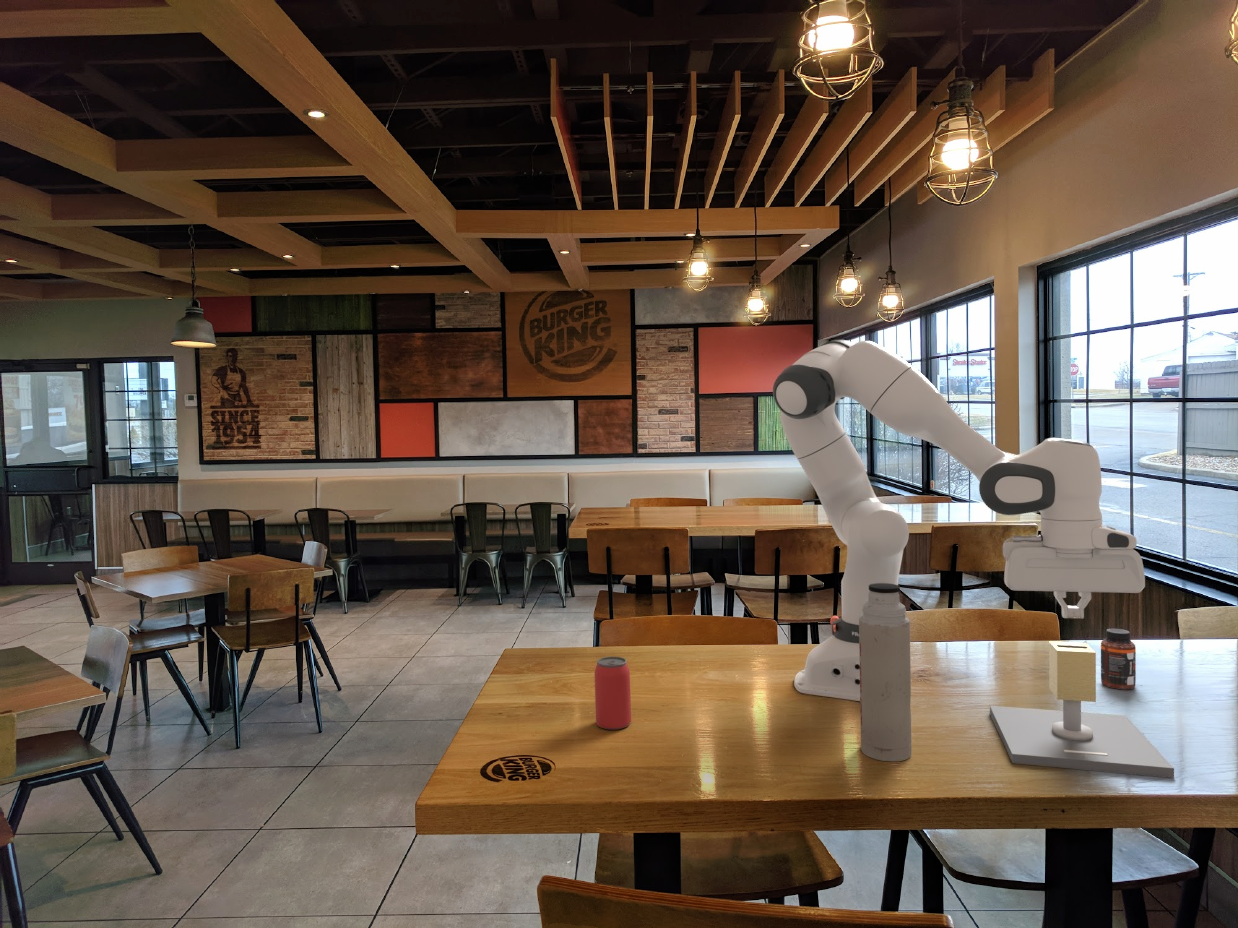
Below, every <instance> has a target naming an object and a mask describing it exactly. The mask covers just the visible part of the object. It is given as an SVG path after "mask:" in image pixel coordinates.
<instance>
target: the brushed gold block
mask: <svg viewBox="0 0 1238 928" xmlns="http://www.w3.org/2000/svg"><path fill="white" fill-rule="evenodd" d="M1048 645H1049V646H1048V653H1049V654H1048V658H1049V660H1048V661H1049V662H1048V663H1049V664H1048V666H1049V670H1048V671H1049V672H1048V676H1049V677H1048V679H1049V680H1048V681H1049V685H1048V686H1049V687H1048V688H1049V690H1050V691H1051V693H1052V694H1053V696H1055V699H1057V700H1061V701H1063V700H1074V701H1081V702H1091V703H1092V702H1093V703H1096V702H1097V675H1096V674H1097V669H1096V668H1097V667H1096V666H1097V663H1096V662H1097V653H1096V651H1095V650H1094V649H1093V648H1092V647H1091V646H1090V645H1089V644H1088V643H1086V642H1072V641H1071V642H1070V641H1052V640H1051V641H1048Z"/></svg>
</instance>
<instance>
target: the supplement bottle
mask: <svg viewBox="0 0 1238 928" xmlns="http://www.w3.org/2000/svg"><path fill="white" fill-rule="evenodd" d="M1105 636H1106V638H1104V639H1103V640H1101V642H1100V681H1101V683H1102V685H1103V686H1106V687H1108V688H1111V689H1115V690H1132V689H1133V690H1134V688H1135V687H1136V682H1137V681H1136V680H1137V679H1136V676H1137V674H1136V673H1137V672H1136V671H1137V670H1136V667H1137V666H1136V661H1137V660H1136V657H1137V656H1136V655H1137V654H1136V653H1137V652H1136V644H1135V642H1132V641H1131V633H1130V631H1129V630H1126V629H1122V628H1107V629H1106V633H1105Z"/></svg>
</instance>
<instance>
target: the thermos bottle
mask: <svg viewBox="0 0 1238 928" xmlns="http://www.w3.org/2000/svg"><path fill="white" fill-rule="evenodd" d="M900 592H901V587H900V585H899V584H898V585H895V584H889V583H875V584H870V585H869V594H868V602H866V603H864V604H863V609H862V611H863V615H862V616H860V617H859V654H860V701H859V702H860V703H859V706H860V708H859V709H860V713H859V715H860V716H859V717H860V719H859V720H860V750H861V752H862V753H863V754H864V755H865V756H866V757H869V758H871V759H874V760H877V761H883V762H891V763H892V762H893V763H894V762H901V761H906V760H908V759H910V758H911V756H912V748H913V747H912V712H911V711H912V709H911V696H912V688H911V687H912V685H911V684H912V683H911V682H912V680H911V679H912V678H911V675H912V673H911V667H912V666H911V621H910V619H909V618H908V617H906V615H907V609H906V606H905V605H904V604H903V603H901V601H900V600H901V599H900V594H899V593H900Z"/></svg>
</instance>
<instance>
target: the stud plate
mask: <svg viewBox="0 0 1238 928" xmlns="http://www.w3.org/2000/svg"><path fill="white" fill-rule="evenodd" d="M989 714H990V717H991V719H992V721H993V723H994V726H995V728H996V730H997V732H998V734H999V736H1000V739H1001V741H1002V744H1003V743H1004V744H1003V746H1004V747H1005V750H1006V753H1007V754H1008V757H1009V759H1010V761H1011V764H1017V765H1018V764H1019V765H1028V766H1029V765H1031V766H1038V767H1040V766H1041V767H1050V768H1059V769H1060V768H1061V769H1063V768H1064V769H1073V770H1085V771H1095V772H1104V773H1106V772H1107V773H1114V772H1115V773H1116V774H1126V775H1136V776H1137V775H1138V776H1148V777H1160V778H1170V779H1175V768H1174V766H1173V765H1172V764H1171V763H1170V762H1169V761H1168V760H1167V758H1165V756H1164V755H1163V754H1162V753H1161V752H1160V751H1159V750H1158V749H1157V748H1156V747H1155V746H1154V744H1152V743H1151V741H1150V739H1148V738H1147V737H1146V736H1145V735H1144V734H1143V733H1142V731H1140V729H1139V728H1138V727H1137V726H1136V725H1135V724H1134V723H1133V722H1132V721H1131V719H1130V718H1129V717H1128V716H1127V715H1123V714H1111V713H1110V714H1108V713H1098V712H1084V711H1083V712H1082V701H1074V700H1062V710H1058V709H1057V710H1055V709H1042V708H1030V707H1028V708H1025V707H1014V706H1000V705H989Z"/></svg>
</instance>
